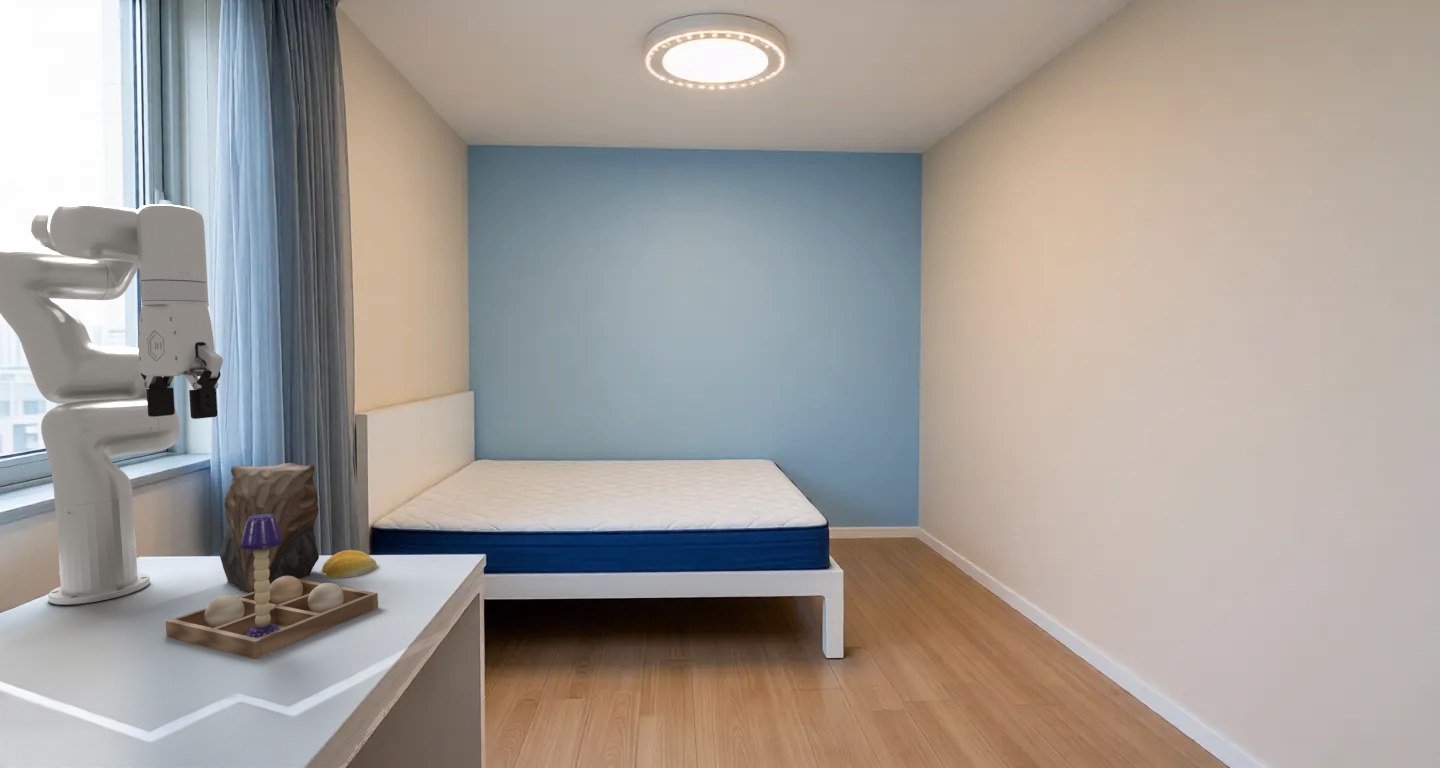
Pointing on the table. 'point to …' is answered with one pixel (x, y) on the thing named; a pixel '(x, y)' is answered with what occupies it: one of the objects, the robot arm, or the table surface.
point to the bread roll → (348, 564)
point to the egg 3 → (325, 597)
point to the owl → (294, 511)
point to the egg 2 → (285, 589)
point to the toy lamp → (261, 567)
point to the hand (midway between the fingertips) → (182, 416)
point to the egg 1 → (224, 610)
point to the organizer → (287, 616)
